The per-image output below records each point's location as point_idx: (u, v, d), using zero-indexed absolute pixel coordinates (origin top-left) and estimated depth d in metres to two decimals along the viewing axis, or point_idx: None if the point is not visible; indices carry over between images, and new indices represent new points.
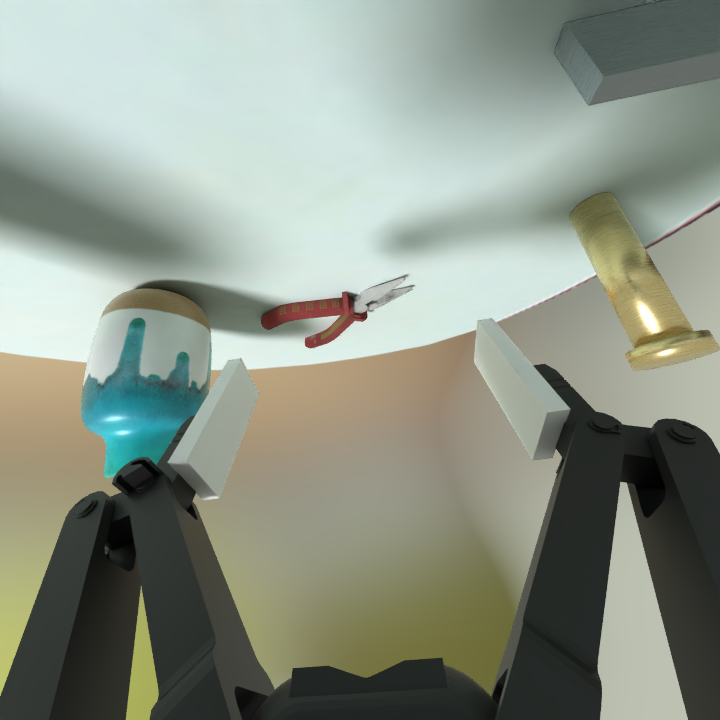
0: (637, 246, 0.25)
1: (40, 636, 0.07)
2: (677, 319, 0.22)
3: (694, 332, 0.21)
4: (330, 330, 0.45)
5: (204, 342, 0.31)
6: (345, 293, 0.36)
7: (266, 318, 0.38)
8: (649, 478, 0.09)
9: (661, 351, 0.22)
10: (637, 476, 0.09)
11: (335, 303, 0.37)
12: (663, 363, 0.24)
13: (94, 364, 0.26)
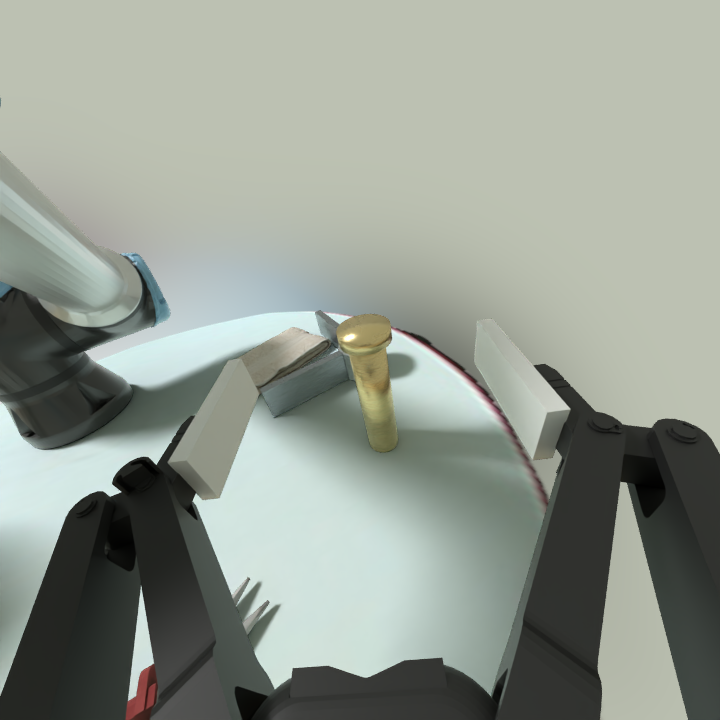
0: None
1: (40, 636, 0.07)
2: None
3: None
4: None
5: None
6: None
7: None
8: (649, 478, 0.09)
9: None
10: (637, 476, 0.09)
11: (131, 700, 0.20)
12: (366, 330, 0.25)
13: None
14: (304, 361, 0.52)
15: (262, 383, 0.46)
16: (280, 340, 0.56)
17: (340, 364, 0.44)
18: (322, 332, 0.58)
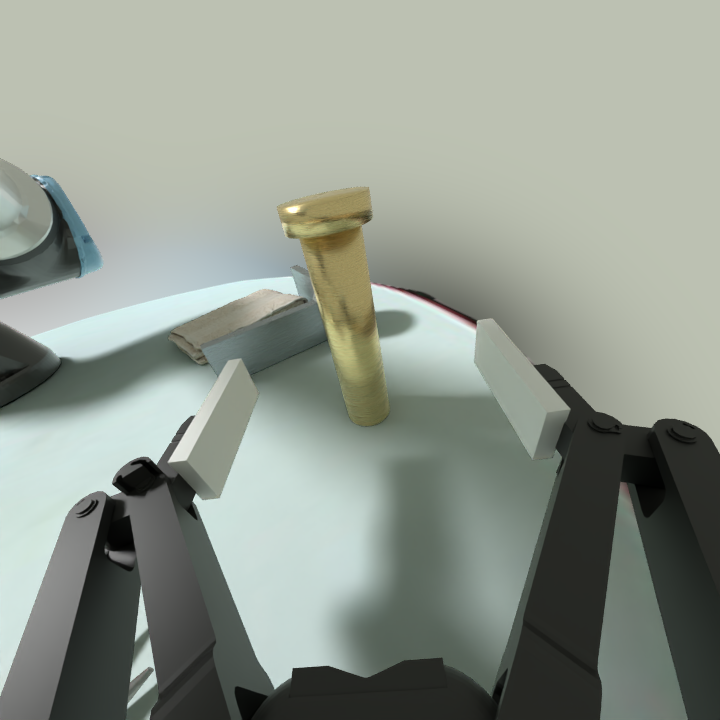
0: None
1: (40, 636, 0.07)
2: None
3: None
4: None
5: None
6: None
7: None
8: (649, 478, 0.09)
9: None
10: (637, 476, 0.09)
11: None
12: (327, 197, 0.15)
13: None
14: None
15: None
16: (246, 301, 0.45)
17: (314, 318, 0.33)
18: (300, 293, 0.48)
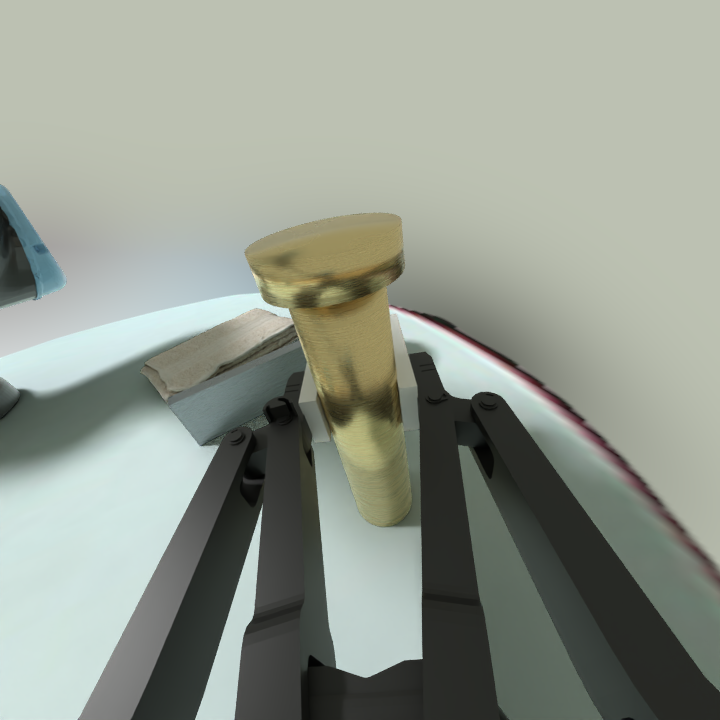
0: None
1: (185, 539, 0.08)
2: None
3: None
4: None
5: None
6: None
7: None
8: (472, 440, 0.11)
9: None
10: (463, 439, 0.11)
11: None
12: (330, 236, 0.09)
13: None
14: (263, 354, 0.35)
15: (190, 387, 0.30)
16: (233, 325, 0.39)
17: None
18: None
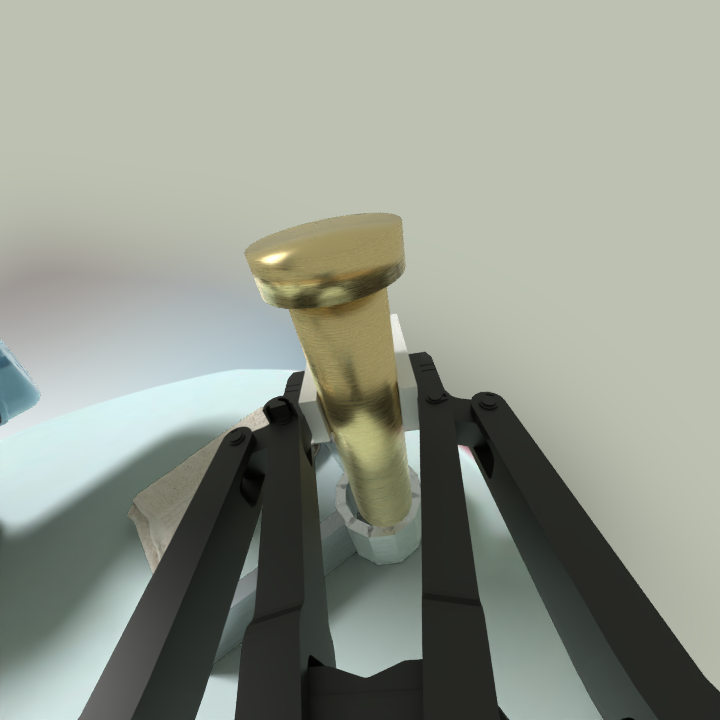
0: None
1: (185, 539, 0.08)
2: None
3: None
4: None
5: None
6: None
7: None
8: (472, 439, 0.11)
9: None
10: (463, 439, 0.11)
11: None
12: (330, 236, 0.08)
13: None
14: None
15: None
16: None
17: (340, 540, 0.22)
18: None
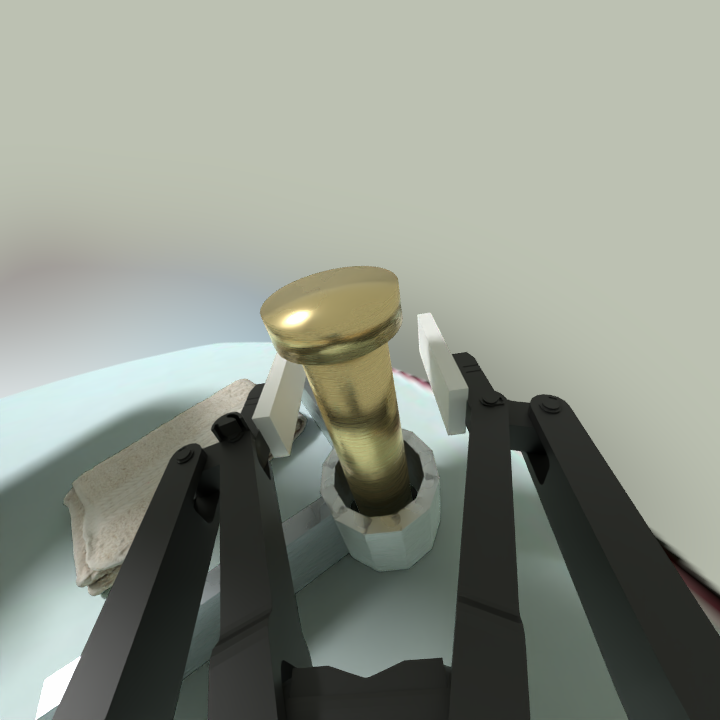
0: None
1: (136, 565, 0.08)
2: None
3: None
4: None
5: None
6: None
7: None
8: (529, 445, 0.10)
9: None
10: (520, 444, 0.11)
11: None
12: (335, 298, 0.10)
13: None
14: None
15: (122, 559, 0.18)
16: (206, 414, 0.28)
17: (325, 537, 0.16)
18: None
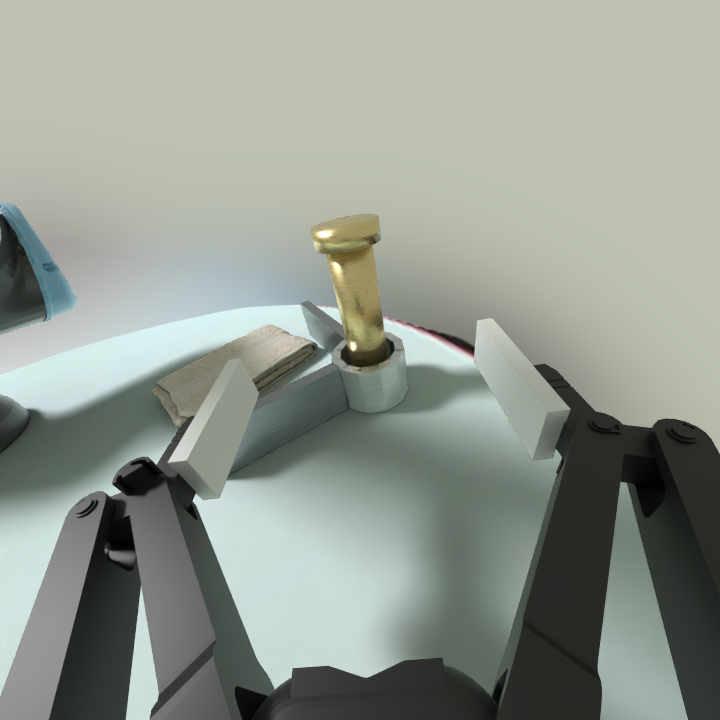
0: None
1: (40, 636, 0.07)
2: None
3: None
4: None
5: None
6: None
7: None
8: (648, 477, 0.09)
9: None
10: (636, 476, 0.09)
11: None
12: (348, 224, 0.20)
13: None
14: (275, 376, 0.34)
15: None
16: (245, 344, 0.39)
17: (335, 385, 0.26)
18: (311, 332, 0.41)
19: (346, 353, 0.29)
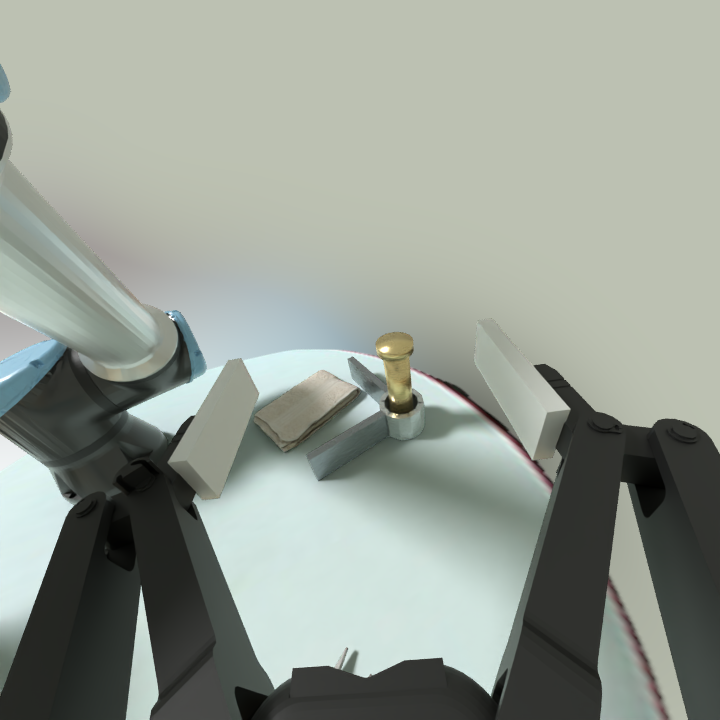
0: None
1: (40, 636, 0.07)
2: None
3: None
4: None
5: None
6: None
7: None
8: (649, 478, 0.09)
9: None
10: (637, 476, 0.09)
11: None
12: (397, 344, 0.38)
13: None
14: (334, 412, 0.52)
15: (295, 438, 0.47)
16: (309, 387, 0.56)
17: (382, 424, 0.44)
18: (354, 377, 0.58)
19: (386, 401, 0.47)
